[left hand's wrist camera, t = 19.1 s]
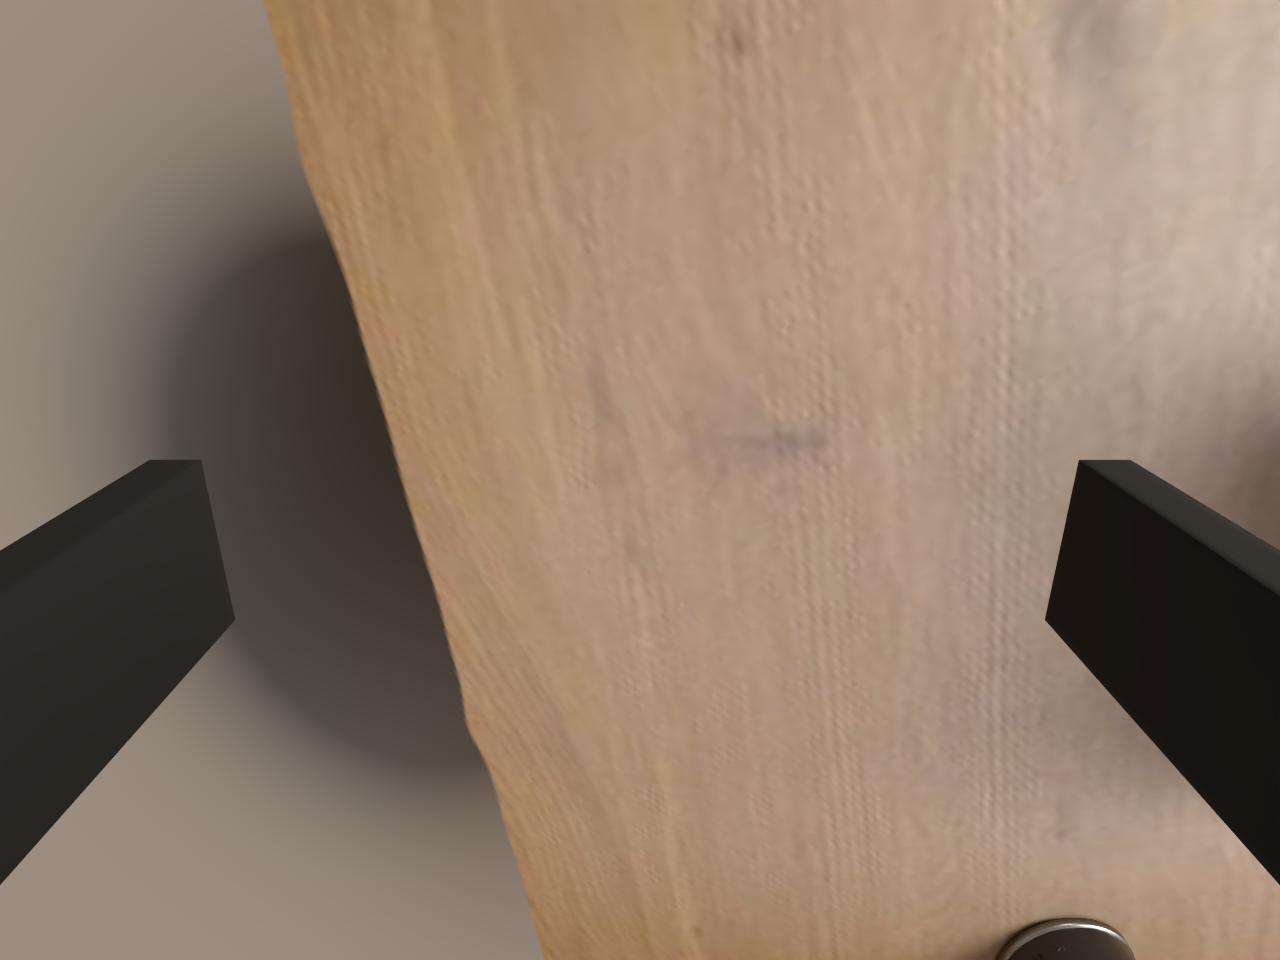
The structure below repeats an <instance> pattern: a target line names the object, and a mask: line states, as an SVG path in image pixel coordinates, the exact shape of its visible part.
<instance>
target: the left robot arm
mask: <svg viewBox="0 0 1280 960" xmlns="http://www.w3.org/2000/svg"><path fill="white" fill-rule="evenodd" d="M234 620H235V617H234V613H233V608H232V603H231V598H230V594H229V589H228V584H227V580H226V575H225V570H224V566H223V561H222V556H221V552H220V547H219V542H218V538H217V533H216V528H215V523H214V519H213V514H212V509H211V505H210V500H209V495H208V491H207V486H206V481H205V476H204V472H203V467H202V462H201V460H149V461H147V462H146V463H144V464H142V465H141V466H139V467H137V468H136V469H134V470H133V471H131V472H129V473H128V474H126V475H124V476H123V477H121V478H119V479H118V480H116V481H114V482H113V483H111V484H109V485H108V486H106V487H104V488H103V489H101V490H99V491H98V492H96V493H94V494H93V495H91V496H90V497H88V498H86V499H85V500H83V501H81V502H80V503H78V504H76V505H75V506H73V507H71V508H70V509H68V510H66V511H65V512H63V513H62V514H60V515H58V516H57V517H55V518H53V519H52V520H50V521H48V522H47V523H45V524H43V525H42V526H40V527H38V528H37V529H35V530H34V531H32V532H30V533H29V534H27V535H25V536H24V537H22V538H20V539H19V540H17V541H15V542H14V543H12V544H10V545H9V546H7V547H5V548H4V549H2V550H1V551H0V885H1V883H2V882H3V881H4V880H5V879H6V878H7V877H8V876H9V874H10V873H11V872H12V871H13V870H14V869H15V868H16V867H17V865H18V864H19V863H20V862H21V861H22V860H23V859H24V858H25V856H26V855H27V854H28V853H29V852H30V851H31V850H32V848H33V847H34V846H35V845H36V844H37V843H38V842H39V841H40V839H41V838H42V837H43V836H44V835H45V834H46V833H47V832H48V830H49V829H50V828H51V827H52V826H53V825H54V824H55V823H56V821H57V820H58V819H59V818H60V817H61V816H62V815H63V813H64V812H65V811H66V810H67V809H68V808H69V807H70V806H71V804H72V803H73V802H74V801H75V800H76V799H77V798H78V797H79V795H80V794H81V793H82V792H83V791H84V790H85V789H86V787H87V786H88V785H89V784H90V783H91V782H92V781H93V780H94V778H95V777H96V776H97V775H98V774H99V773H100V772H101V771H102V769H103V768H104V767H105V766H106V765H107V764H108V763H109V761H110V760H111V759H112V758H113V757H114V756H115V755H116V754H117V753H118V751H119V750H120V749H121V748H122V747H123V746H124V745H125V743H126V742H127V741H128V740H129V739H130V738H131V737H132V735H133V734H134V733H135V732H136V731H137V730H138V729H139V728H140V727H141V725H142V724H143V723H144V722H145V721H146V720H147V719H148V717H149V716H150V715H151V714H152V713H153V712H154V711H155V710H156V708H157V707H158V706H159V705H160V704H161V703H162V702H163V701H164V699H165V698H166V697H167V696H168V695H169V694H170V693H171V691H172V690H173V689H174V688H175V687H176V686H177V685H178V684H179V682H180V681H181V680H182V679H183V678H184V677H185V676H186V675H187V673H188V672H189V671H190V670H191V669H192V668H193V667H194V666H195V664H196V663H197V662H198V661H199V660H200V659H201V658H202V656H203V655H204V654H205V653H206V652H207V651H208V650H209V649H210V648H211V646H212V645H213V644H214V643H215V642H216V641H217V640H218V638H219V637H220V636H221V635H222V634H223V633H224V632H225V631H226V629H227V628H228V627H229V626H230V625H231V624H232V623H233V622H234ZM1045 620H1046V622H1047V623H1048V624H1049V625H1050V626H1051V627H1052V628H1053V629H1054V631H1055V632H1056V633H1057V634H1058V635H1059V636H1060V637H1061V638H1062V640H1063V641H1064V642H1065V643H1066V644H1067V645H1068V646H1069V648H1070V649H1071V650H1072V651H1073V652H1074V653H1075V654H1076V655H1077V657H1078V658H1079V659H1080V660H1081V661H1082V662H1083V663H1084V664H1085V666H1086V667H1087V668H1088V669H1089V670H1090V671H1091V672H1092V673H1093V675H1094V676H1095V677H1096V678H1097V679H1098V680H1099V681H1100V683H1101V684H1102V685H1103V686H1104V687H1105V688H1106V689H1107V690H1108V692H1109V693H1110V694H1111V695H1112V696H1113V697H1114V698H1115V699H1116V701H1117V702H1118V703H1119V704H1120V705H1121V706H1122V707H1123V708H1124V710H1125V711H1126V712H1127V713H1128V714H1129V715H1130V716H1131V718H1132V719H1133V720H1134V721H1135V722H1136V723H1137V724H1138V725H1139V727H1140V728H1141V729H1142V730H1143V731H1144V732H1145V733H1146V734H1147V736H1148V737H1149V738H1150V739H1151V740H1152V741H1153V742H1154V743H1155V745H1156V746H1157V747H1158V748H1159V749H1160V750H1161V751H1162V753H1163V754H1164V755H1165V756H1166V757H1167V758H1168V759H1169V760H1170V762H1171V763H1172V764H1173V765H1174V766H1175V767H1176V768H1177V769H1178V771H1179V772H1180V773H1181V774H1182V775H1183V776H1184V777H1185V778H1186V780H1187V781H1188V782H1189V783H1190V784H1191V785H1192V786H1193V788H1194V789H1195V790H1196V791H1197V792H1198V793H1199V794H1200V795H1201V797H1202V798H1203V799H1204V800H1205V801H1206V802H1207V803H1208V804H1209V806H1210V807H1211V808H1212V809H1213V810H1214V811H1215V812H1216V813H1217V815H1218V816H1219V817H1220V818H1221V819H1222V820H1223V821H1224V823H1225V824H1226V825H1227V826H1228V827H1229V828H1230V829H1231V830H1232V832H1233V833H1234V834H1235V835H1236V836H1237V837H1238V838H1239V839H1240V841H1241V842H1242V843H1243V844H1244V845H1245V846H1246V847H1247V848H1248V850H1249V851H1250V852H1251V853H1252V854H1253V855H1254V856H1255V858H1256V859H1257V860H1258V861H1259V862H1260V863H1261V864H1262V865H1263V867H1264V868H1265V869H1266V870H1267V871H1268V872H1269V873H1270V874H1271V876H1272V877H1273V878H1274V879H1275V880H1276V881H1277V882H1278V883H1279V885H1280V551H1279V550H1278V549H1276V548H1275V547H1273V546H1271V545H1270V544H1268V543H1266V542H1265V541H1263V540H1261V539H1260V538H1258V537H1256V536H1255V535H1253V534H1251V533H1250V532H1248V531H1246V530H1245V529H1243V528H1242V527H1240V526H1238V525H1237V524H1235V523H1233V522H1232V521H1230V520H1228V519H1227V518H1225V517H1223V516H1222V515H1220V514H1218V513H1217V512H1215V511H1214V510H1212V509H1210V508H1209V507H1207V506H1205V505H1204V504H1202V503H1200V502H1199V501H1197V500H1195V499H1194V498H1192V497H1190V496H1189V495H1187V494H1186V493H1184V492H1182V491H1181V490H1179V489H1177V488H1176V487H1174V486H1172V485H1171V484H1169V483H1167V482H1166V481H1164V480H1162V479H1161V478H1159V477H1157V476H1156V475H1154V474H1153V473H1151V472H1149V471H1148V470H1146V469H1144V468H1143V467H1141V466H1139V465H1138V464H1136V463H1134V462H1133V461H1131V460H1079V462H1078V467H1077V472H1076V476H1075V481H1074V486H1073V491H1072V495H1071V500H1070V505H1069V509H1068V514H1067V519H1066V523H1065V528H1064V533H1063V537H1062V542H1061V547H1060V552H1059V556H1058V561H1057V566H1056V570H1055V575H1054V580H1053V584H1052V589H1051V594H1050V598H1049V603H1048V608H1047V613H1046V617H1045Z"/></svg>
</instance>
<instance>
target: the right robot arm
mask: <svg viewBox="0 0 1280 960" xmlns="http://www.w3.org/2000/svg"><path fill="white" fill-rule="evenodd" d="M997 960H1135V958H1134V955H1133V952H1132V950H1131V949H1130V947H1129V945H1128V944H1127V942H1126V941H1125V939H1124V937H1123V936H1122V935H1121V934H1120V933H1119V932H1118V931H1117V930H1115V929H1114V928H1113V927H1111V926H1109V925H1107V924H1105V923H1102V922H1099V921H1096V920H1092V919H1086V918H1063V919H1057V920H1052V921H1048V922H1045V923H1042V924H1039V925H1036V926H1034V927H1032V928H1030V929H1028V930H1026V931H1024V932H1023V933H1021V934H1019V935H1018V936H1017V937H1015V938H1014V939H1013V940H1012V941H1011V942H1009V943H1008V945H1007V946H1006V947H1005V948H1004V949H1003V950H1002V952H1001V953H1000V955H999V957H998V959H997Z"/></svg>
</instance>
